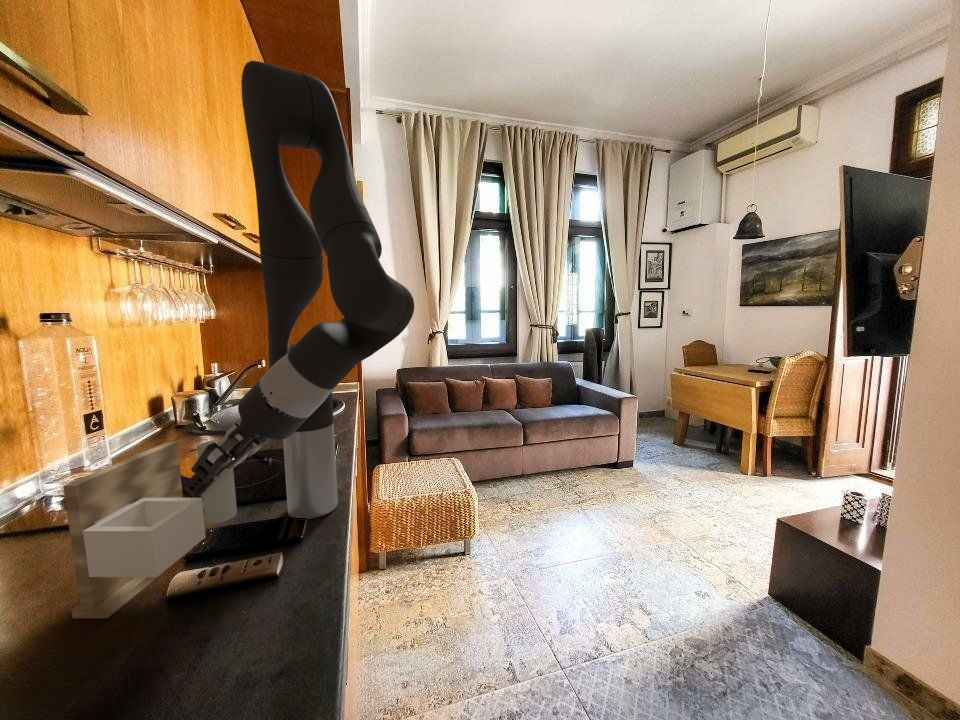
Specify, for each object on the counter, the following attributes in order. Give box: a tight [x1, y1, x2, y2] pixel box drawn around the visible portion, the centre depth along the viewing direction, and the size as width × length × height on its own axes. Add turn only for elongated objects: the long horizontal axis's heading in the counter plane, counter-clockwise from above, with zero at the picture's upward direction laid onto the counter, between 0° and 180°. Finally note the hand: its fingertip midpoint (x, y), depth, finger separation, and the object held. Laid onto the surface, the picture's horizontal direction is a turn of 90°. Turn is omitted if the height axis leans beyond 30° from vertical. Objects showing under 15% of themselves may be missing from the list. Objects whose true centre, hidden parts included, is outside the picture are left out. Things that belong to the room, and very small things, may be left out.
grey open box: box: [83, 497, 206, 578], centre depth 52 cm, size 9×9×6 cm
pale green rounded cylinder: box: [196, 438, 238, 524], centre depth 50 cm, size 4×4×10 cm
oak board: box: [62, 441, 191, 619], centre depth 56 cm, size 16×4×18 cm, turn 0°
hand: (202, 483), depth 50 cm, fingers closed on pale green rounded cylinder, 3 cm apart
